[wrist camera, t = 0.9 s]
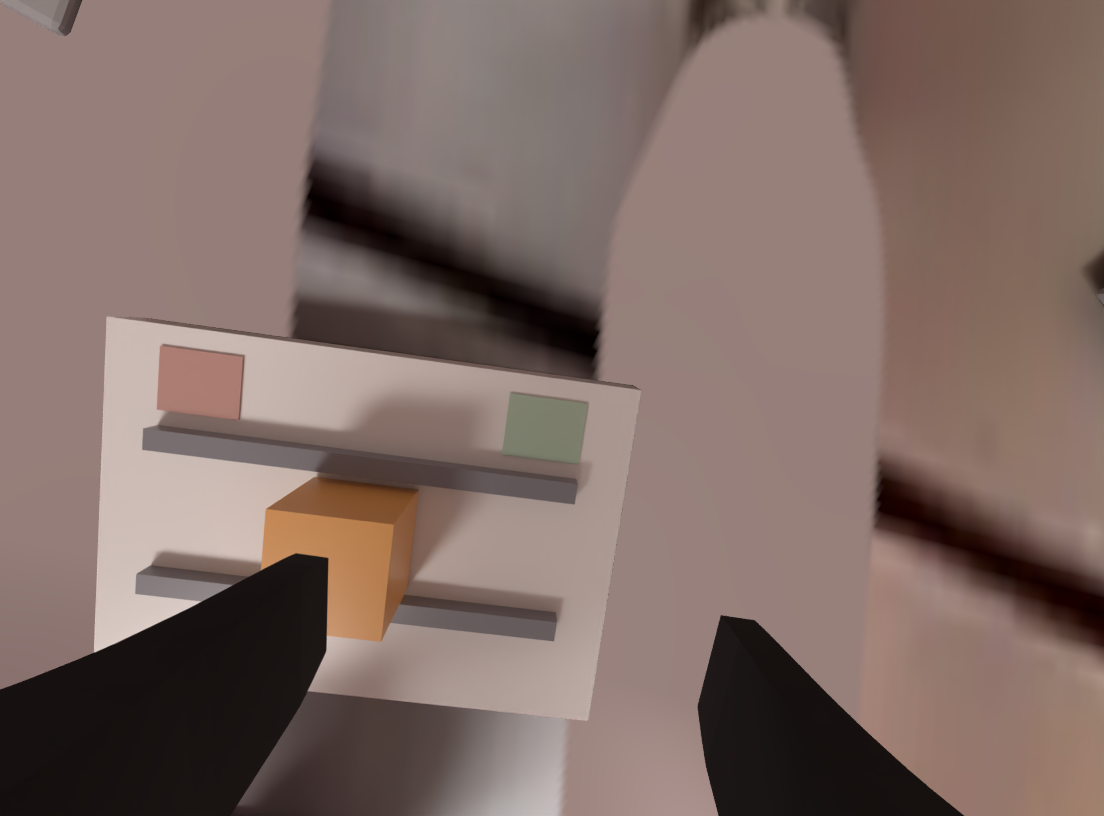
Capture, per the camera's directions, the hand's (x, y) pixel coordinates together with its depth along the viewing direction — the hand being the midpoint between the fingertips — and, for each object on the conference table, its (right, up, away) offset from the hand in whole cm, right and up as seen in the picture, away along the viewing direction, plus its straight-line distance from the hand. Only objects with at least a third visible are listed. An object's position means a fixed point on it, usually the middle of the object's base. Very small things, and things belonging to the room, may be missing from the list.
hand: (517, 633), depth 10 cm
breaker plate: (-7, 0, +14) cm, 15 cm away
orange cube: (-7, -1, +12) cm, 14 cm away
